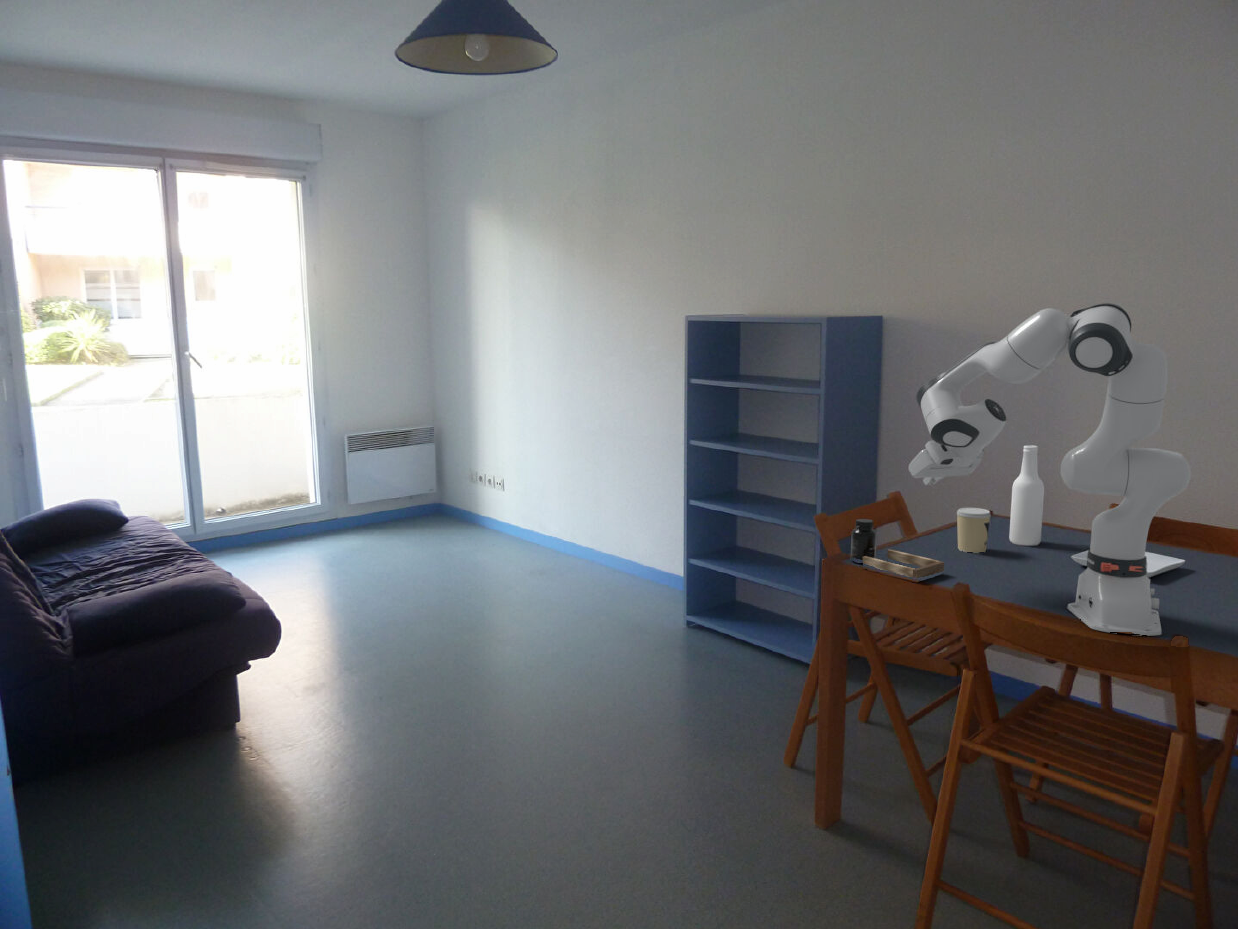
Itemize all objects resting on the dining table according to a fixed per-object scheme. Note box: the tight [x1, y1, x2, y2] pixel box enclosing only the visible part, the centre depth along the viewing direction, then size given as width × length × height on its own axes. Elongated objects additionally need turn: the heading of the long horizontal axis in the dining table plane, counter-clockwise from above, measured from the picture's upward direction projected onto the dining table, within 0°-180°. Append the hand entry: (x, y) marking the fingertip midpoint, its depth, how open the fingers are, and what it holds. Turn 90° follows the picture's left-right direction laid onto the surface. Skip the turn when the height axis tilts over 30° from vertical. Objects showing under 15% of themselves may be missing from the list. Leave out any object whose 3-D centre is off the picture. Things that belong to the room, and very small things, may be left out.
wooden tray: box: [863, 549, 945, 578], centre depth 238 cm, size 17×12×4 cm
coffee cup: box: [956, 507, 992, 554], centre depth 258 cm, size 9×9×12 cm
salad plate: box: [1070, 549, 1186, 579], centre depth 239 cm, size 21×21×3 cm
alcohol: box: [1008, 444, 1045, 547], centre depth 264 cm, size 9×9×30 cm
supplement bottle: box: [850, 518, 877, 560], centre depth 248 cm, size 7×7×12 cm
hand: (928, 482), depth 233 cm, fingers closed
